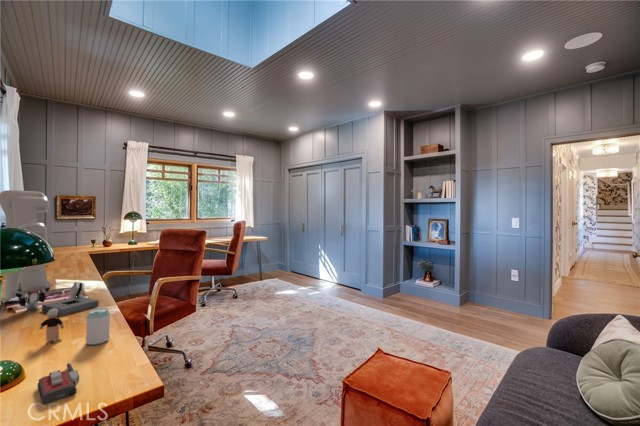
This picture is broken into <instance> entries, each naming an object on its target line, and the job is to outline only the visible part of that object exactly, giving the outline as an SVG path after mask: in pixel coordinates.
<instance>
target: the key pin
mask: <svg viewBox="0 0 640 426" xmlns="http://www.w3.org/2000/svg"><path fill="white" fill-rule="evenodd" d="M38 309H39V290H34V291H30V292H27V300H26V312H33V311H37V310H38Z"/></svg>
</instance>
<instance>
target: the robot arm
mask: <svg viewBox="0 0 640 426" xmlns="http://www.w3.org/2000/svg"><path fill="white" fill-rule="evenodd" d="M50 206H51V204H50V200H49V199H48V197H47V196H46V195H45V194H44V193H43V192H41V191H36V190H18V189H10V190H3V191H0V208H1V210H2V212H3V213H4V216H5V228H6V227H14V228H21V229H26V230H28V231H31V232H34V233H36V234H38V235H39V236H41V237H42V238H43V239H44V240H46V241H47V242H48V241H49V239H48V231H47V226H46V224H44V223H43V222H38V219H37V213H47V212H48V211H49V210H50V208H51V207H50ZM48 243H49V242H48ZM47 266H48V264H47V263H44V264H43V265H37V266H32V267H26V268H24V269H23V270H22V271H19V272H15V273H10V274H6V275H5V278H4V279H5V280H4V297H3V298H1V299H2V302H1V304H2V303H4V304H5V302H7V301H9V300H10V299H11V298H15V297H18V298H19V302H18V303H19V304H18V305H19V306H20V307H27V300H26V298H24V297H25V295H27V292H30V291H34V290H38V292H39V293H38V302H40V303H44V302H45V300H46V294H47V293H48V291H49V290H50V289H51V288H52V287H53V286H54V284H53V283H51V282H49V281H48V274H47V271H46V268H45V267H47Z"/></svg>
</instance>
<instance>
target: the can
mask: <svg viewBox="0 0 640 426" xmlns="http://www.w3.org/2000/svg"><path fill="white" fill-rule="evenodd" d="M110 319H111V313H110V311H109V309H108V308H106V307H105V308H103V307H102V308H96V309H95V308H94V309H91V310H89V311H88V314H87V316H86V331H85V333H86V335H85V339H86V340H85V343H86V344H87V345H89V346H96V345H101V344H104V343H106V342H107V341H108V340H109V339H110V326H111V325H110V324H111V323H110V322H111V320H110Z"/></svg>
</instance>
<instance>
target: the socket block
mask: <svg viewBox="0 0 640 426" xmlns="http://www.w3.org/2000/svg"><path fill="white" fill-rule="evenodd" d="M96 307H99V299H94V298H89V297H85V296H81V297H74V298H70V299H66V298H65V299H63V300H58V301H53V302H49V303H45V304H41V312H44V313H48V311H50V310H51V309H58V313H57V316H61V317H62V316H63V317H64V316H67V315H70V314H74V313H77V312H81V311H85V310H88V309H92V308H96Z"/></svg>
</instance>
